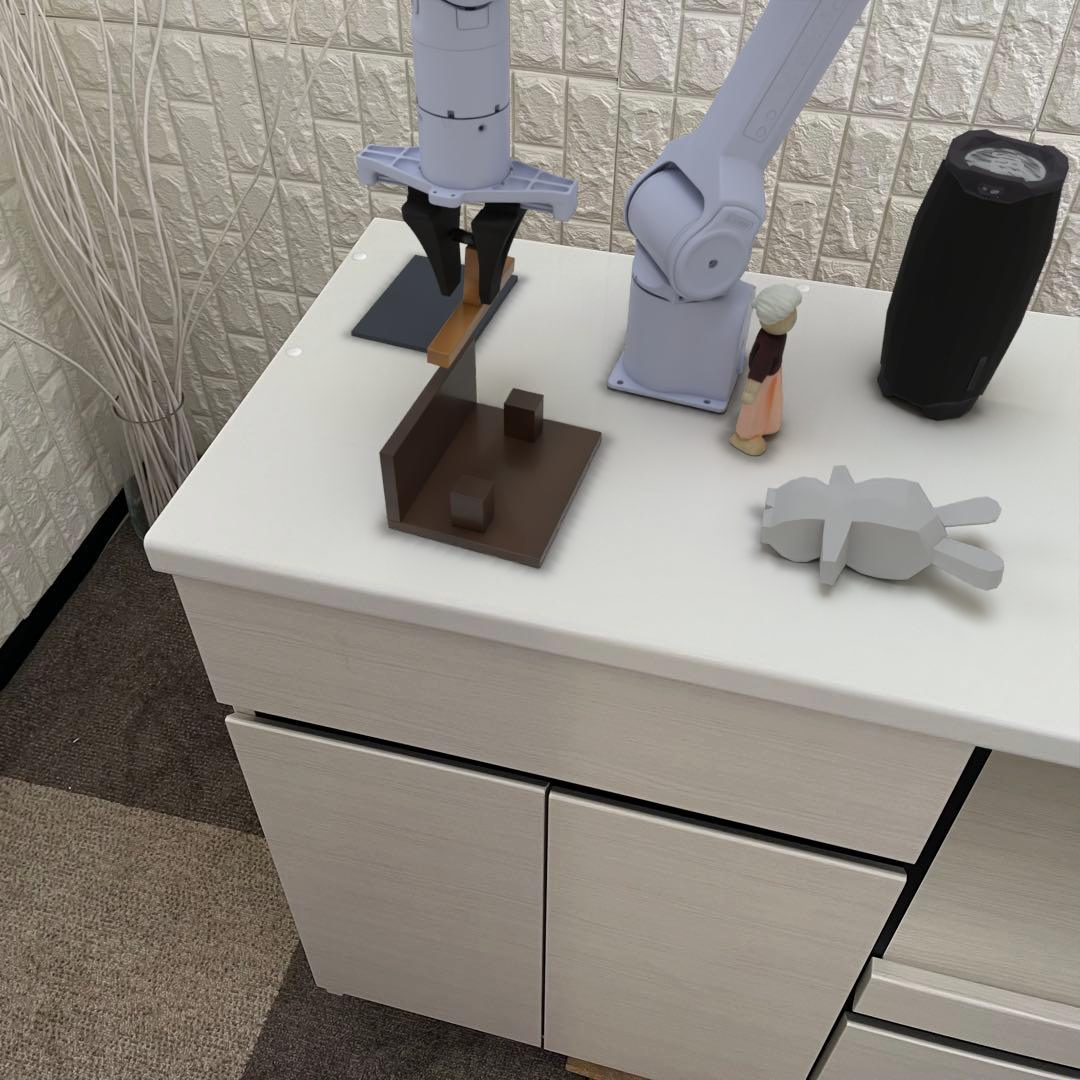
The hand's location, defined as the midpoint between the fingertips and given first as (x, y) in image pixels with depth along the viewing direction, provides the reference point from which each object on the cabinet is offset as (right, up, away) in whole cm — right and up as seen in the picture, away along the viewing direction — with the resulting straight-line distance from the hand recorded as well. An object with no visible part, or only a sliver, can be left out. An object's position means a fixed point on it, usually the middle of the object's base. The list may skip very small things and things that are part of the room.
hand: (470, 292), depth 74 cm
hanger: (0, -1, +1) cm, 2 cm away
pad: (-4, +3, +17) cm, 18 cm away
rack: (+2, -13, +2) cm, 13 cm away
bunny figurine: (+27, -18, -3) cm, 33 cm away
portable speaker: (+36, -5, +10) cm, 38 cm away
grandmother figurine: (+21, -9, +6) cm, 24 cm away
